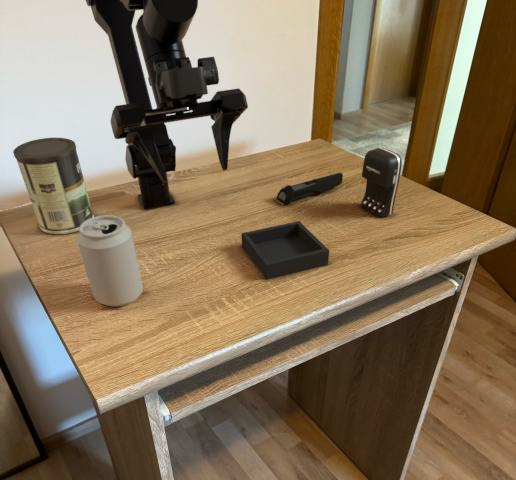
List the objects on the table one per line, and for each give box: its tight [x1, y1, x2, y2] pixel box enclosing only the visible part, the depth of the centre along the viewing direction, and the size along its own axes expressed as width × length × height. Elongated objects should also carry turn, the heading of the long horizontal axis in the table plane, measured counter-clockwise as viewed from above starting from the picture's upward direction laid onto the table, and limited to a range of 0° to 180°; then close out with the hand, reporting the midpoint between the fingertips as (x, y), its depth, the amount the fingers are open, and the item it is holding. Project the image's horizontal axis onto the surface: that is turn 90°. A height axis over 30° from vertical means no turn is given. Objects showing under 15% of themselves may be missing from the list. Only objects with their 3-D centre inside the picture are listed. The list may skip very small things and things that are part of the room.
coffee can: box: [12, 137, 95, 235], centre depth 89 cm, size 10×10×14 cm
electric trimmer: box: [276, 172, 344, 206], centre depth 100 cm, size 4×16×3 cm, turn 122°
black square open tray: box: [240, 220, 330, 280], centre depth 82 cm, size 11×11×3 cm
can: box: [76, 214, 144, 308], centre depth 71 cm, size 8×8×12 cm
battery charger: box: [360, 147, 403, 217], centre depth 91 cm, size 7×4×11 cm, turn 32°
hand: (195, 175), depth 70 cm, fingers open, 9 cm apart
